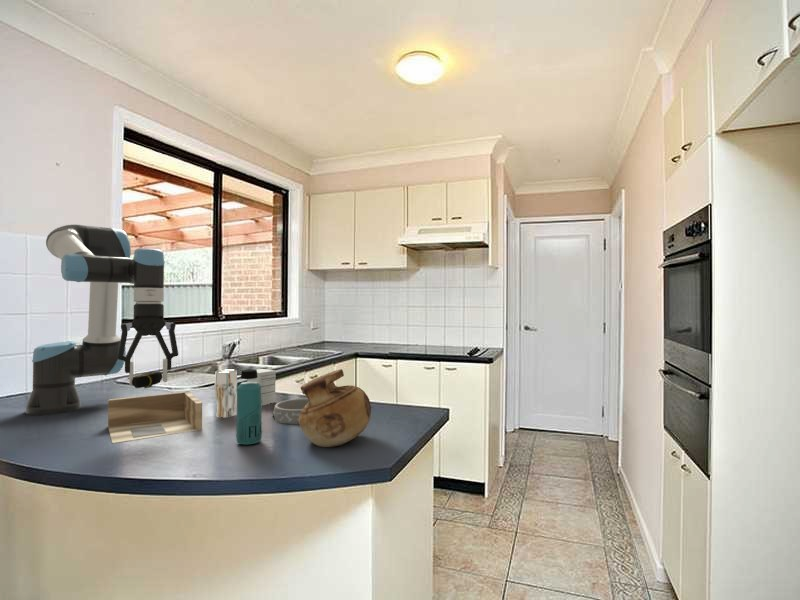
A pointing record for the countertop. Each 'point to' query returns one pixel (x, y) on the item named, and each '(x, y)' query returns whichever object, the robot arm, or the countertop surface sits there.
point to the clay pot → (333, 411)
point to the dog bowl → (289, 410)
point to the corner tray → (153, 416)
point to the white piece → (225, 392)
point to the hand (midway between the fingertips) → (148, 382)
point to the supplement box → (266, 385)
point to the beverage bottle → (249, 409)
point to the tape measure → (147, 379)
